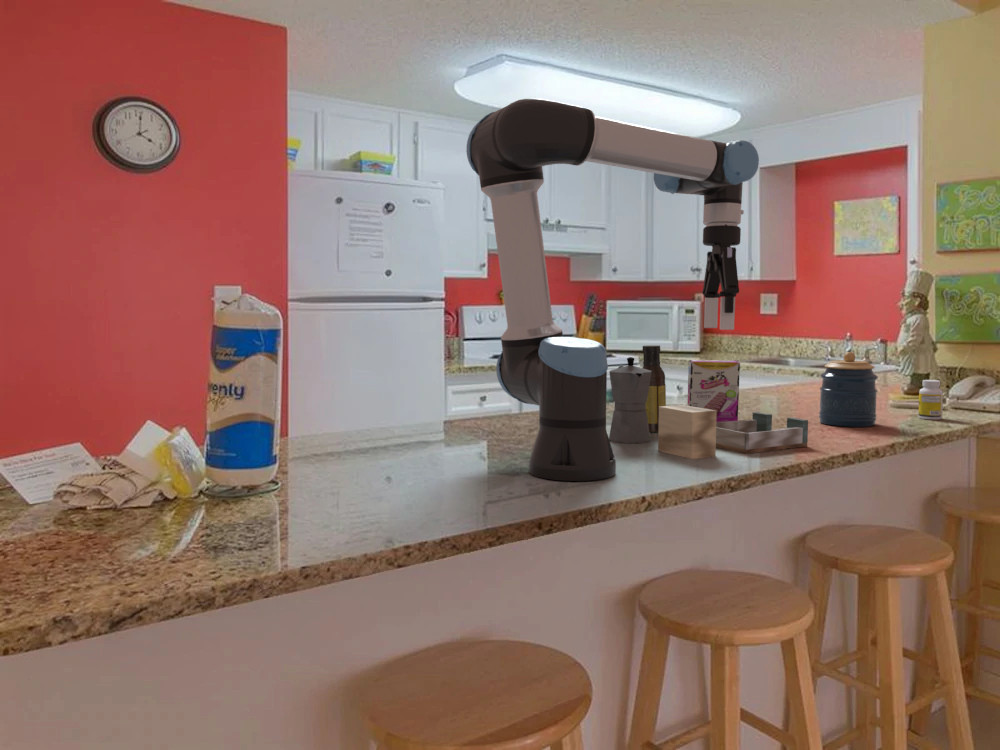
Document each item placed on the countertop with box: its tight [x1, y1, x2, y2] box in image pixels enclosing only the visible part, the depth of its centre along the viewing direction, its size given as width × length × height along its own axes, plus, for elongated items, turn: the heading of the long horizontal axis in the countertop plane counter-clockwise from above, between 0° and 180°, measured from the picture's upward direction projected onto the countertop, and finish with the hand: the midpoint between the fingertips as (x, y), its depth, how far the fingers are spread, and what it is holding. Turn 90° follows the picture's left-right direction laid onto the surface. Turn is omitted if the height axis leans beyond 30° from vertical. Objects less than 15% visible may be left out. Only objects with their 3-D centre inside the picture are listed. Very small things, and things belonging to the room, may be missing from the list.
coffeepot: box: [608, 356, 652, 444], centre depth 178 cm, size 15×9×18 cm, turn 8°
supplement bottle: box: [918, 379, 944, 421], centre depth 209 cm, size 5×5×10 cm
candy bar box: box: [686, 359, 741, 423], centre depth 189 cm, size 11×5×16 cm, turn 84°
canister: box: [818, 351, 879, 428], centre depth 200 cm, size 13×13×18 cm
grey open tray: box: [716, 411, 809, 455], centre depth 171 cm, size 17×14×6 cm
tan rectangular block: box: [657, 404, 717, 460], centre depth 161 cm, size 6×10×9 cm, turn 28°
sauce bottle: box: [642, 344, 667, 433], centre depth 189 cm, size 6×6×20 cm
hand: (718, 329), depth 171 cm, fingers open, 13 cm apart
